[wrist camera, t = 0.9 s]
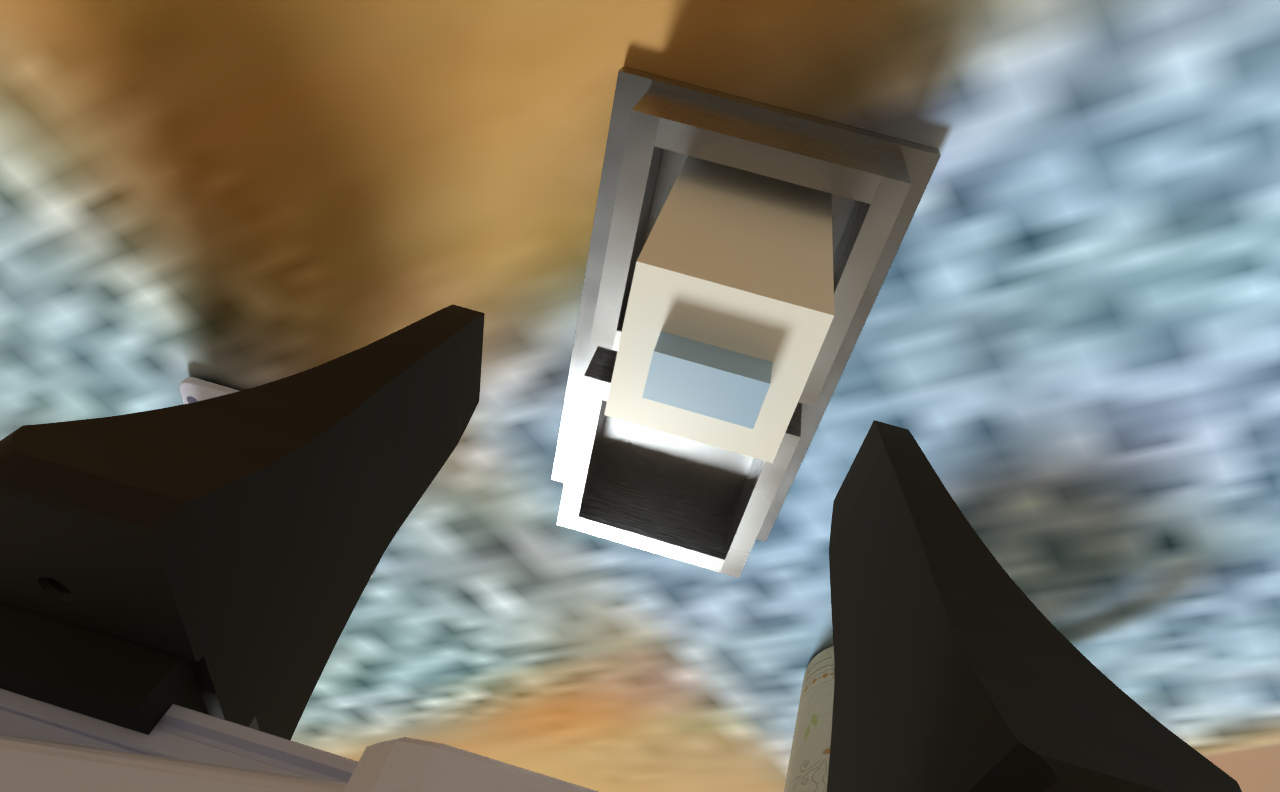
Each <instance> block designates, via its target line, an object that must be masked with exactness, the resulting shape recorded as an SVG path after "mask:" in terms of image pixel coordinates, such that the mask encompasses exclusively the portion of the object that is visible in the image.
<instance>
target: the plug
mask: <svg viewBox="0 0 1280 792" xmlns="http://www.w3.org/2000/svg"><path fill="white" fill-rule="evenodd" d="M833 318H834V281H833V238H832V195H831V193H827V192H824V191H820V190H816V189H812V188H809V187H805V186H801V185H797V184H794V183H790V182H786V181H782V180H779V179H775V178H771V177H767V176H764V175H760V174H756V173H752V172H749V171H745V170H741V169H737V168H734V167H730V166H726V165H722V164H719V163H715V162H711V161H707V160H704V159H700V158H696V157H692V156H689V155H688V157H687V159H686V161H685V163H684V165H683V167H682V169H681V171H680V173H679V175H678V177H677V179H676V181H675V183H674V185H673V187H672V189H671V192H670V194H669V196H668V198H667V200H666V202H665V204H664V206H663V208H662V210H661V212H660V214H659V216H658V218H657V220H656V222H655V224H654V226H653V229H652V231H651V233H650V235H649V237H648V239H647V241H646V243H645V245H644V247H643V249H642V251H641V253H640V255H639V257H638V259H637V262H636V266H635V271H634V276H633V281H632V285H631V290H630V295H629V299H628V304H627V309H626V314H625V318H624V323H623V328H622V333H621V337H620V342H619V347H618V352H617V356H616V361H615V366H614V371H613V375H612V380H611V385H610V390H609V394H608V399H607V404H606V409H605V413H604V415H605V416H609V417H612V418H616V419H619V420H623V421H626V422H630V423H633V424H637V425H640V426H644V427H647V428H651V429H654V430H658V431H661V432H665V433H668V434H672V435H675V436H679V437H682V438H686V439H689V440H693V441H696V442H700V443H703V444H707V445H710V446H714V447H717V448H721V449H724V450H728V451H731V452H735V453H738V454H742V455H745V456H749V457H752V458H756V459H759V460H763V461H766V462H770V463H773V461H774V458H775V456H776V454H777V451H778V449H779V446H780V444H781V442H782V439H783V437H784V435H785V432H786V430H787V427H788V425H789V423H790V420H791V418H792V415H793V413H794V411H795V408H796V406H797V404H798V401H799V399H800V396H801V394H802V392H803V389H804V387H805V384H806V382H807V380H808V377H809V375H810V372H811V370H812V368H813V365H814V363H815V361H816V358H817V356H818V353H819V351H820V349H821V346H822V344H823V341H824V339H825V337H826V334H827V332H828V330H829V327H830V325H831V322H832V320H833Z"/></svg>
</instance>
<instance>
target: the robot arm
mask: <svg viewBox="0 0 1280 792" xmlns="http://www.w3.org/2000/svg"><path fill="white" fill-rule="evenodd" d="M483 328H484V313H481V312H478V311H474V310H470V309H467V308H463V307H460V306H456V305H451V306H448V307H446V308H444V309H442V310H439V311H437V312H435V313H433V314H431V315H429V316H427V317H425V318H423V319H421V320H419V321H417V322H415V323H413V324H411V325H409V326H407V327H405V328H403V329H401V330H399V331H397V332H395V333H392V334H390V335H388V336H386V337H384V338H382V339H380V340H378V341H376V342H374V343H371V344H369V345H367V346H365V347H363V348H360V349H358V350H355V351H353V352H351V353H348V354H346V355H344V356H341V357H339V358H336V359H334V360H332V361H329V362H327V363H324V364H322V365H320V366H317V367H314V368H312V369H309V370H306V371H304V372H301V373H298V374H295V375H292V376H289V377H286V378H283V379H280V380H277V381H274V382H270V383H267V384H264V385H261V386H257V387H254V388H250V389H247V390H242V391H239V390H235V389H232V388H228V387H225V386H222V385H218V384H215V383H211V382H208V381H204V380H201V379H198V378H194V377H188V378H186V379H185V380H184V381H182V382H181V384H180V391H181V395H182V399H183V403H184V405H178V406H173V407H168V408H163V409H157V410H151V411H145V412H139V413H132V414H126V415H119V416H112V417H105V418H96V419H86V420H77V421H67V422H58V423H48V424H38V425H25V426H22V427H20V428H19V429H17V430H16V431H14V432H13V433H11V434H10V435H8V436H7V437H6V438H4V439H3V440H1V441H0V792H598V791H594V790H591V789H588V788H585V787H581V786H578V785H575V784H572V783H568V782H565V781H562V780H559V779H556V778H552V777H549V776H546V775H543V774H539V773H536V772H533V771H530V770H526V769H523V768H520V767H517V766H513V765H510V764H507V763H504V762H501V761H497V760H494V759H491V758H488V757H484V756H481V755H478V754H475V753H471V752H468V751H465V750H462V749H458V748H455V747H452V746H449V745H445V744H441V743H436V742H430V741H424V740H418V739H412V738H406V737H404V738H399V739H394V740H390V741H385V742H380V743H377V744H374V745H371V746H368V747H366V749H365V751H364V753H363V755H362V757H361V759H360V760H359V762H358V761H354V760H351V759H348V758H345V757H342V756H338V755H335V754H332V753H329V752H325V751H322V750H319V749H316V748H313V747H309V746H306V745H303V744H300V743H297V742H293V741H290V740H291V738H292V735H293V733H294V731H295V729H296V727H297V724H298V722H299V720H300V718H301V716H302V713H303V711H304V709H305V707H306V705H307V702H308V700H309V698H310V696H311V694H312V692H313V690H314V688H315V686H316V684H317V682H318V680H319V677H320V675H321V673H322V671H323V669H324V667H325V665H326V663H327V661H328V659H329V657H330V655H331V653H332V651H333V649H334V647H335V644H336V642H337V640H338V639H339V637H340V635H341V633H342V631H343V629H344V627H345V625H346V623H347V621H348V619H349V617H350V615H351V613H352V611H353V609H354V607H355V605H356V604H357V602H358V600H359V598H360V596H361V594H362V592H363V590H364V588H365V587H366V585H367V583H368V581H369V579H370V578H371V577H372V576H373V574H374V573H375V570H376V566H377V564H378V563H379V561H380V559H381V557H382V555H383V553H384V552H385V550H386V548H387V547H388V545H389V544H390V542H391V541H392V539H393V537H394V536H395V534H396V533H397V531H398V530H399V528H400V527H401V525H402V524H403V522H404V521H405V520H406V518H407V517H408V515H409V514H410V512H411V511H412V510H413V508H414V507H415V505H416V504H417V502H418V501H419V499H420V498H421V497H422V495H423V494H424V492H425V491H426V489H427V488H428V487H429V485H430V484H431V482H432V481H433V479H434V478H435V477H436V475H437V474H438V472H439V471H440V469H441V468H442V466H443V465H444V463H445V462H446V460H447V459H448V458H449V456H450V455H451V453H452V452H453V450H454V449H455V447H456V446H457V444H458V442H459V440H460V438H461V436H462V435H463V433H464V431H465V429H466V427H467V425H468V423H469V421H470V419H471V417H472V415H473V412H474V410H475V408H476V406H477V404H478V402H479V393H480V377H481V361H482V345H483ZM829 560H830V584H831V605H832V625H833V645H834V699H833V715H832V731H831V745H830V757H829V769H828V781H827V792H1242V791H1241V789H1240V787H1239V785H1238V783H1237V781H1235V780H1234V779H1233V778H1231V777H1230V776H1229V775H1227V774H1226V773H1225V772H1224V771H1222V770H1221V769H1220V768H1218V767H1217V766H1216V765H1214V764H1213V763H1212V762H1210V761H1209V760H1208V759H1206V758H1205V757H1204V756H1203V755H1201V754H1200V753H1199V752H1197V751H1196V750H1195V749H1193V748H1192V747H1191V746H1189V745H1188V744H1187V743H1185V742H1184V741H1183V740H1182V739H1180V738H1179V737H1178V736H1176V735H1175V734H1174V733H1172V732H1171V731H1170V730H1168V729H1167V728H1166V727H1164V726H1163V725H1162V724H1161V723H1160V722H1158V721H1157V720H1156V719H1155V718H1153V717H1152V716H1151V715H1150V714H1149V713H1148V712H1146V711H1145V710H1144V709H1143V708H1142V707H1141V706H1139V705H1138V704H1137V703H1136V702H1135V701H1133V700H1132V699H1131V698H1130V697H1129V696H1128V695H1126V694H1125V693H1124V692H1123V691H1122V690H1121V689H1119V688H1118V687H1117V686H1116V685H1115V684H1114V683H1113V682H1112V681H1110V680H1109V679H1108V678H1107V677H1106V676H1105V675H1104V674H1103V673H1102V672H1100V671H1099V670H1098V669H1097V668H1096V667H1095V666H1094V665H1093V664H1092V663H1091V662H1090V661H1089V660H1088V659H1087V658H1086V657H1085V656H1084V655H1082V654H1081V653H1080V652H1079V651H1078V650H1077V649H1076V648H1075V647H1074V646H1073V645H1072V644H1071V643H1070V642H1069V641H1068V640H1067V639H1066V638H1065V637H1064V636H1063V635H1062V634H1061V633H1060V632H1059V631H1058V630H1057V629H1056V628H1055V627H1054V626H1053V625H1052V624H1051V623H1050V622H1049V621H1048V620H1047V618H1046V617H1045V616H1044V615H1043V614H1042V613H1041V612H1040V611H1039V610H1038V609H1037V608H1036V606H1035V605H1034V604H1033V603H1032V602H1031V601H1030V600H1029V598H1028V597H1027V596H1026V595H1025V594H1024V593H1023V592H1022V591H1021V589H1020V588H1019V587H1018V586H1017V585H1016V584H1015V583H1014V581H1013V580H1012V579H1011V578H1010V577H1009V575H1008V574H1007V573H1006V572H1005V571H1004V569H1003V568H1002V567H1001V566H1000V564H999V563H998V562H997V560H996V559H995V558H994V556H993V555H992V554H991V552H990V551H989V550H988V549H987V547H986V546H985V545H984V543H983V542H982V541H981V539H980V538H979V537H978V535H977V534H976V532H975V531H974V530H973V528H972V527H971V525H970V524H969V523H968V521H967V520H966V518H965V517H964V515H963V514H962V512H961V511H960V509H959V508H958V506H957V505H956V503H955V502H954V500H953V499H952V497H951V496H950V494H949V493H948V491H947V490H946V488H945V487H944V485H943V483H942V482H941V480H940V479H939V477H938V476H937V474H936V472H935V471H934V469H933V468H932V466H931V464H930V463H929V461H928V460H927V458H926V456H925V455H924V453H923V452H922V450H921V448H920V447H919V445H918V444H917V442H916V440H915V439H914V437H913V436H912V434H911V433H910V431H909V430H907V429H904V428H900V427H896V426H893V425H889V424H886V423H882V422H878V421H875V420H874V422H873V424H872V426H871V428H870V430H869V432H868V434H867V436H866V438H865V440H864V442H863V444H862V446H861V448H860V450H859V452H858V454H857V456H856V458H855V460H854V462H853V464H852V466H851V468H850V470H849V472H848V474H847V476H846V478H845V480H844V482H843V484H842V486H841V488H840V490H839V492H838V494H837V496H836V498H835V500H834V504H833V514H832V523H831V534H830V546H829Z"/></svg>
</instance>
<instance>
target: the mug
mask: <svg viewBox="0 0 1280 792" xmlns="http://www.w3.org/2000/svg"><path fill="white" fill-rule="evenodd" d="M833 699H834V646H831V647H829V648H827V649H825V650H823V651H821V652H820V653H819V654H817V655H816V656H815V657H814V658H813V659H812V660H811V662H810V663H809V665H808V667H807V669H806V672H805V676H804V680H803V686H802V691H801V697H800V703H799V708H798V714H797V720H796V726H795V731H794V737H793V743H792V749H791V755H790V760H789V766H788V772H787V778H786V783H785V789H784V792H827V781H828V769H829V757H830V745H831V731H832V715H833Z"/></svg>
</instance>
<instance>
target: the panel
mask: <svg viewBox="0 0 1280 792" xmlns="http://www.w3.org/2000/svg"><path fill="white" fill-rule="evenodd" d="M688 155H689V156H692V157H696V158H700V159H704V160H707V161H711V162H715V163H719V164H722V165H726V166H730V167H734V168H737V169H741V170H745V171H749V172H752V173H756V174H760V175H764V176H767V177H771V178H775V179H779V180H782V181H786V182H790V183H794V184H797V185H801V186H805V187H809V188H812V189H816V190H820V191H824V192H827V193H831V195H832V238H833V281H834V318H833V320H832V322H831V325H830V327H829V330H828V332H827V334H826V337H825V339H824V341H823V344H822V346H821V349H820V351H819V353H818V356H817V358H816V361H815V363H814V365H813V368H812V370H811V372H810V375H809V377H808V380H807V382H806V384H805V387H804V389H803V392H802V394H801V396H800V399H799V401H798V404H797V406H796V408H795V411H794V413H793V415H792V418H791V420H790V423H789V425H788V427H787V430H786V432H785V435H784V437H783V439H782V442H781V444H780V446H779V449H778V451H777V454H776V456H775V458H774V461H773V463H770V462H766V461H763V460H759V459H756V458H752V457H749V456H745V455H742V454H738V453H735V452H731V451H728V450H724V449H721V448H717V447H714V446H710V445H707V444H703V443H700V442H696V441H693V440H689V439H686V438H682V437H679V436H675V435H672V434H668V433H665V432H661V431H658V430H654V429H651V428H647V427H644V426H640V425H637V424H633V423H630V422H626V421H623V420H619V419H616V418H612V417H609V416H605V415H604V413H605V409H606V404H607V399H608V394H609V390H610V385H611V380H612V375H613V371H614V366H615V361H616V356H617V352H618V347H619V342H620V337H621V333H622V328H623V323H624V318H625V314H626V309H627V304H628V299H629V295H630V290H631V285H632V281H633V276H634V271H635V266H636V262H637V259H638V257H639V255H640V253H641V251H642V249H643V247H644V245H645V243H646V241H647V239H648V237H649V235H650V233H651V231H652V229H653V226H654V224H655V222H656V220H657V218H658V216H659V214H660V212H661V210H662V208H663V206H664V204H665V202H666V200H667V198H668V196H669V194H670V192H671V189H672V187H673V185H674V183H675V181H676V179H677V177H678V175H679V173H680V171H681V169H682V167H683V165H684V163H685V161H686V159H687V157H688ZM939 158H940V153H939V150H938V149H935V148H931V147H927V146H923V145H920V144H916V143H912V142H908V141H904V140H901V139H897V138H893V137H889V136H885V135H881V134H878V133H874V132H870V131H866V130H862V129H859V128H855V127H851V126H847V125H843V124H839V123H836V122H832V121H828V120H824V119H820V118H817V117H813V116H809V115H805V114H801V113H797V112H794V111H790V110H786V109H782V108H778V107H775V106H771V105H767V104H763V103H759V102H755V101H752V100H748V99H744V98H740V97H736V96H733V95H729V94H725V93H721V92H717V91H713V90H710V89H706V88H702V87H698V86H694V85H691V84H687V83H683V82H679V81H675V80H671V79H668V78H664V77H660V76H656V75H652V74H649V73H645V72H641V71H637V70H633V69H629V68H626V67H622V68H621V69H620V70H619V72H618V78H617V84H616V90H615V97H614V103H613V109H612V115H611V121H610V127H609V133H608V139H607V145H606V151H605V157H604V163H603V169H602V176H601V182H600V188H599V194H598V200H597V206H596V212H595V218H594V224H593V230H592V236H591V242H590V248H589V255H588V261H587V267H586V273H585V279H584V285H583V291H582V297H581V303H580V309H579V315H578V321H577V328H576V334H575V340H574V346H573V352H572V358H571V364H570V370H569V376H568V382H567V388H566V394H565V400H564V407H563V413H562V419H561V425H560V431H559V437H558V443H557V449H556V455H555V461H554V467H553V473H552V479H553V480H556V481H559V482H563V483H564V488H563V493H562V499H561V504H560V510H559V516H558V521H557V525H561V526H564V527H567V528H571V529H574V530H578V531H581V532H584V533H588V534H591V535H594V536H598V537H601V538H605V539H608V540H611V541H615V542H618V543H622V544H625V545H628V546H632V547H635V548H639V549H642V550H645V551H649V552H652V553H656V554H659V555H662V556H666V557H669V558H672V559H676V560H679V561H683V562H686V563H689V564H693V565H696V566H700V567H703V568H706V569H710V570H713V571H717V572H720V573H723V574H727V575H730V576H734V577H737V578H739V577H740V574H741V572H742V570H743V567H744V565H745V563H746V561H747V558H748V556H749V554H750V551H751V549H752V547H753V545H754V542H755V540H756V539H758V540H762V541H765V542H766V540H767V538H768V536H769V533H770V531H771V529H772V527H773V525H774V522H775V520H776V518H777V516H778V513H779V511H780V509H781V507H782V505H783V502H784V500H785V498H786V496H787V494H788V491H789V489H790V487H791V485H792V483H793V480H794V478H795V476H796V474H797V471H798V469H799V467H800V465H801V463H802V460H803V458H804V456H805V454H806V452H807V449H808V447H809V445H810V443H811V441H812V438H813V436H814V434H815V432H816V429H817V427H818V425H819V423H820V421H821V418H822V416H823V414H824V412H825V410H826V407H827V405H828V403H829V401H830V399H831V396H832V394H833V392H834V390H835V387H836V385H837V383H838V381H839V379H840V376H841V374H842V372H843V370H844V368H845V365H846V363H847V361H848V359H849V357H850V354H851V352H852V350H853V348H854V345H855V343H856V341H857V339H858V337H859V334H860V332H861V330H862V328H863V326H864V323H865V321H866V319H867V317H868V315H869V312H870V310H871V308H872V306H873V303H874V301H875V299H876V297H877V295H878V292H879V290H880V288H881V286H882V284H883V281H884V279H885V277H886V275H887V273H888V270H889V268H890V266H891V264H892V261H893V259H894V257H895V255H896V253H897V250H898V248H899V246H900V244H901V242H902V239H903V237H904V235H905V233H906V231H907V228H908V226H909V224H910V222H911V219H912V217H913V215H914V213H915V211H916V208H917V206H918V204H919V202H920V200H921V197H922V195H923V193H924V191H925V189H926V186H927V184H928V182H929V180H930V177H931V175H932V173H933V171H934V169H935V166H936V164H937V162H938V160H939Z"/></svg>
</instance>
